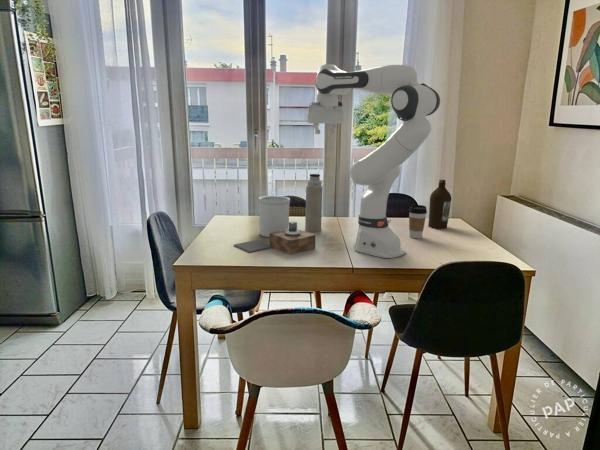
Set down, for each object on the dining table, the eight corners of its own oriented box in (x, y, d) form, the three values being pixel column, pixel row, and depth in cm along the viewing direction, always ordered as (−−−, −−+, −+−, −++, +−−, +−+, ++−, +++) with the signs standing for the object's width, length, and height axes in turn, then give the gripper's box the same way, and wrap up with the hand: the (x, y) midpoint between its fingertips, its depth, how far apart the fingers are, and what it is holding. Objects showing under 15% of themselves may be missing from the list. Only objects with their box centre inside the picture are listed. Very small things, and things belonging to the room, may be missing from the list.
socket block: (315, 248, 186) (315, 234, 184) (290, 254, 177) (290, 240, 175) (294, 240, 196) (294, 228, 194) (269, 246, 187) (269, 233, 185)
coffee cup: (427, 237, 207) (430, 206, 203) (419, 240, 201) (422, 209, 197) (411, 233, 212) (414, 203, 209) (403, 236, 206) (405, 206, 203)
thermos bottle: (305, 227, 219) (307, 172, 212) (321, 228, 219) (323, 173, 212) (304, 231, 212) (305, 175, 205) (320, 232, 211) (322, 175, 204)
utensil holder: (269, 228, 216) (270, 194, 212) (295, 232, 209) (295, 197, 205) (252, 234, 204) (252, 198, 200) (278, 239, 197) (279, 202, 193)
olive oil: (423, 226, 226) (427, 179, 220) (433, 223, 234) (438, 177, 227) (441, 230, 219) (447, 182, 213) (451, 227, 226) (457, 180, 220)
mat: (272, 247, 185) (272, 246, 185) (249, 252, 178) (249, 251, 177) (256, 241, 194) (256, 239, 194) (233, 245, 186) (233, 244, 186)
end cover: (303, 243, 185) (303, 223, 183) (291, 246, 181) (292, 225, 179) (293, 239, 190) (293, 220, 188) (282, 242, 186) (282, 222, 184)
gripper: (314, 101, 186) (313, 134, 189) (346, 103, 199) (344, 133, 203) (304, 101, 190) (303, 133, 194) (336, 103, 204) (334, 133, 207)
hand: (325, 133), depth 198 cm, fingers open, 8 cm apart
